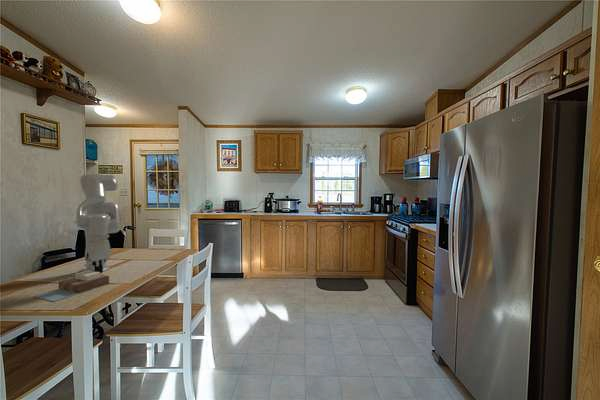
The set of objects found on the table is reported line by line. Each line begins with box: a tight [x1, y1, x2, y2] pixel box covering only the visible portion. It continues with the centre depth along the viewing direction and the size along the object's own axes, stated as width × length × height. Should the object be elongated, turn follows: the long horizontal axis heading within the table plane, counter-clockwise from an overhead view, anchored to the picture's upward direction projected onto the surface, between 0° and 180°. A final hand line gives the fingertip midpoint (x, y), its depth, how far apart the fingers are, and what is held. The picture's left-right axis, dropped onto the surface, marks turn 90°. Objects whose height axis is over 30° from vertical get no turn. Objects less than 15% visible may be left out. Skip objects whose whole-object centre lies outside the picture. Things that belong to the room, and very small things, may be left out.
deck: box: [58, 274, 110, 295], centre depth 125 cm, size 14×14×4 cm
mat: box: [33, 288, 79, 303], centre depth 114 cm, size 15×9×1 cm, turn 71°
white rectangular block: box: [74, 270, 101, 281], centre depth 126 cm, size 9×6×2 cm, turn 71°
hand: (98, 273), depth 131 cm, fingers closed
